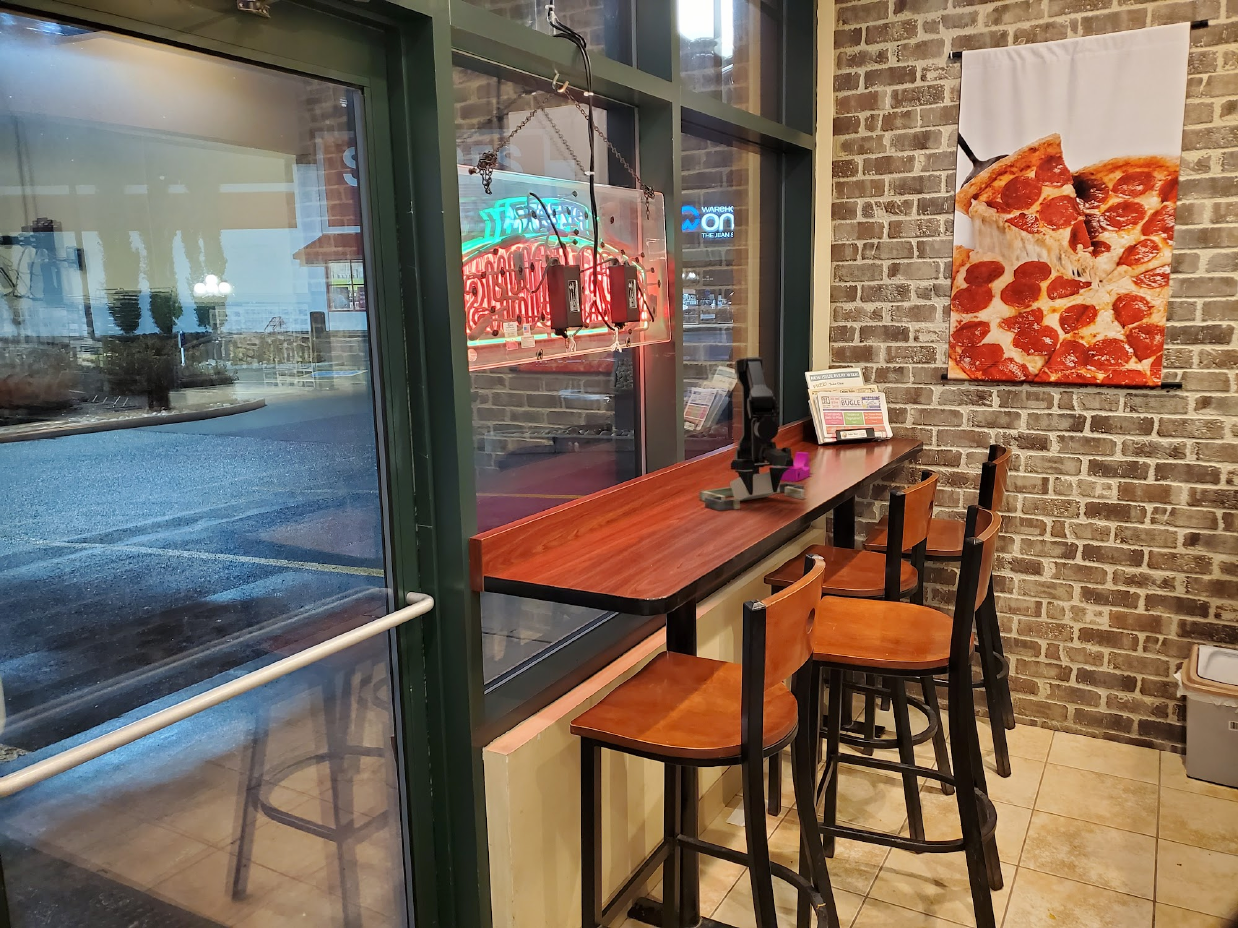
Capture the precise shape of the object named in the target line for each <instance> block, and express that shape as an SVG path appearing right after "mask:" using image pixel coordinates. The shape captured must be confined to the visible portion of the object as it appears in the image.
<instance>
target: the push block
mask: <svg viewBox="0 0 1238 928" xmlns="http://www.w3.org/2000/svg"><path fill="white" fill-rule="evenodd" d="M729 484H730V487H731V488H732V492H733V495H734V496H733V498H735V499H739V500H740V502H744V501H749V500H755V499H762V498H768V497H769V496H772V495H774V494H778V493H777V492H779V491H780V490H779V487H778V490H777V492H773V488H772V483H771V476H770V471H767V472H759V474H754V475H753V495H749V492H748V490H747V488H746V486H745V485H744V483H743V481H742V479H741V478H740V477H739V476H738V477H737V478H735V479H733V480H731V481H729Z"/></svg>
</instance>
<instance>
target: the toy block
mask: <svg viewBox="0 0 1238 928" xmlns="http://www.w3.org/2000/svg"><path fill="white" fill-rule="evenodd" d="M792 459H793V461H794V466H790V467H787V468H790V469H789V470H787V471H786V472H785V473H784V474H783V476H782V478H781V481H782V482H783V481H785V482H795V483H796V482H798V481H801V480H803V479H806V478H809V477H810V476H811V468H810V453H809V452H804V451H803V452H801V451H797V452H795V456H794V458H793V457H792Z"/></svg>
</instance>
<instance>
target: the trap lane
mask: <svg viewBox="0 0 1238 928" xmlns="http://www.w3.org/2000/svg"><path fill="white" fill-rule="evenodd" d="M804 487H805V485H803V484H800V483H799V484H798V483H794V482H790V481H785V482H780V484H779V490H780V491H779V492H777V493H776V494H781V493H784V496H785V497H790V498H794V499H799V500H802V499H803V500H804V499H805V498H806V496H805V495H806V493H805V492H806V491H805V488H804ZM698 494H699V496H698V497H699V499H698V500H700V501H703V502H704V507H705V508H709V509H713V510H715V511H726V510H727V511H728V510H732V509H733V510H738V509H739V510H740V509H741V508H740V505H741V504H740V503H741V501H740V500H739V499H735V498H734V495H733V492H732V488H731V486H728V487H727V486H726V487H720V488H713V489H712V488H711V489H706V490H705V489H704V490H700V491H699V493H698ZM728 497H733V498H728ZM726 498H727V499H726Z"/></svg>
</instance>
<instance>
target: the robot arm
mask: <svg viewBox="0 0 1238 928" xmlns="http://www.w3.org/2000/svg"><path fill="white" fill-rule="evenodd" d="M764 372H765V360H764V359H763V358H762V357H759V356H748V357H745V358H742V357H741V358H738V360H736V361H735V362H734V374H736V380H737V382H738V383H739V385H740V386H741V400H742V401H741V403H742V404H741V408H742V409H741V410H742V411H741V413H742V416H741V417H742V424H741V425H742V435H741V437H740V439H738V441H737V448H735V453H734V458H733V460H731V463H730V470H734V472H735V473H737V475H738V478H739V477H740V478H741V479H742V481H743V483H744V485H745V486H746V488H747V490H748V492H749V495H753V475H754V474H759V473H760V468H765V467H769V466H771V467H769V468H768V470H769V472H770V476H771V483H772V488H773V492H777V490H778V487H779V484H780V483H781V481H782V480H781V478H782V476H783V474H784V473H785V472H786V471H787V470H789V469H790V468H787V467H790V466H794V461H795V460H794V458H793V457H792V450H791V448H790V447H789V446H788V447H785V446H784V447H782V448H777V443H776V441H773V439H775V438H776V437H777V436H778V433H779V427H778V423H777V422H775V420H773V419H778V418H779V416H780V409H779V404H778V401H777V399H776V397H774V394H773V391H772V390H771V389H770V388H769V387H767V385H766V381H765V376H764ZM792 458H793V459H792Z"/></svg>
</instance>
